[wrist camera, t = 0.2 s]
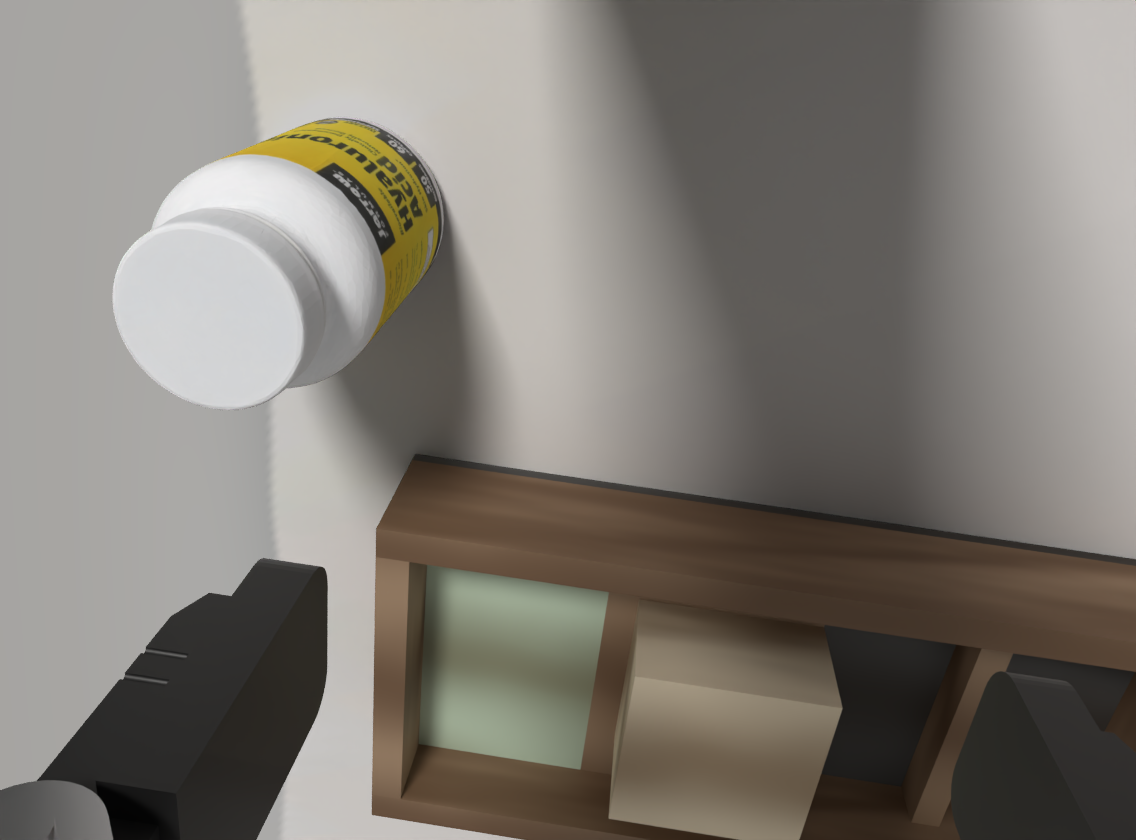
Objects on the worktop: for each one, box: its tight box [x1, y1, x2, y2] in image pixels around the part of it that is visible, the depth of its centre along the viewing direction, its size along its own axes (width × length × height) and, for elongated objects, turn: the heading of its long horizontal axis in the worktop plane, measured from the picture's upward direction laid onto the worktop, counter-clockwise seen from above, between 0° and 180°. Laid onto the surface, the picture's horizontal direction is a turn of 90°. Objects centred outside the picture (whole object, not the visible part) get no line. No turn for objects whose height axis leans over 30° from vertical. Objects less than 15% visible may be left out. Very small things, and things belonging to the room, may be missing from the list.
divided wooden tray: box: [372, 454, 1136, 840], centre depth 31 cm, size 12×26×4 cm, turn 84°
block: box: [609, 599, 843, 840], centre depth 29 cm, size 6×6×4 cm
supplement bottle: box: [113, 117, 444, 410], centre depth 23 cm, size 5×5×10 cm
